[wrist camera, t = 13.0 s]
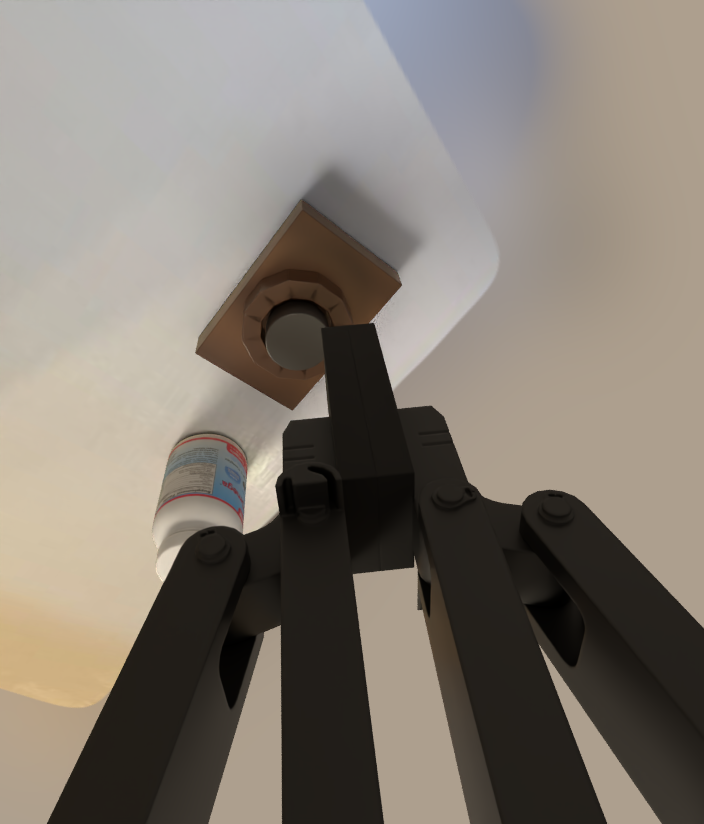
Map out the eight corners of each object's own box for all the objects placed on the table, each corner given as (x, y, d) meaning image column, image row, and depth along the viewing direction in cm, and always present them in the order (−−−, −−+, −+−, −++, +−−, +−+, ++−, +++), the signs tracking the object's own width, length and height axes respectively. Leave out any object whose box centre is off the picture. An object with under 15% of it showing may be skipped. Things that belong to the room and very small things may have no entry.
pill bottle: (253, 485, 52) (247, 595, 43) (177, 494, 52) (155, 606, 43) (241, 425, 49) (232, 531, 40) (160, 434, 49) (132, 542, 39)
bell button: (290, 288, 39) (290, 300, 38) (341, 323, 41) (344, 336, 39) (253, 335, 41) (252, 349, 39) (304, 367, 42) (304, 381, 41)
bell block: (301, 198, 40) (303, 218, 36) (397, 272, 43) (407, 296, 40) (198, 338, 44) (191, 367, 41) (292, 394, 48) (292, 425, 44)
